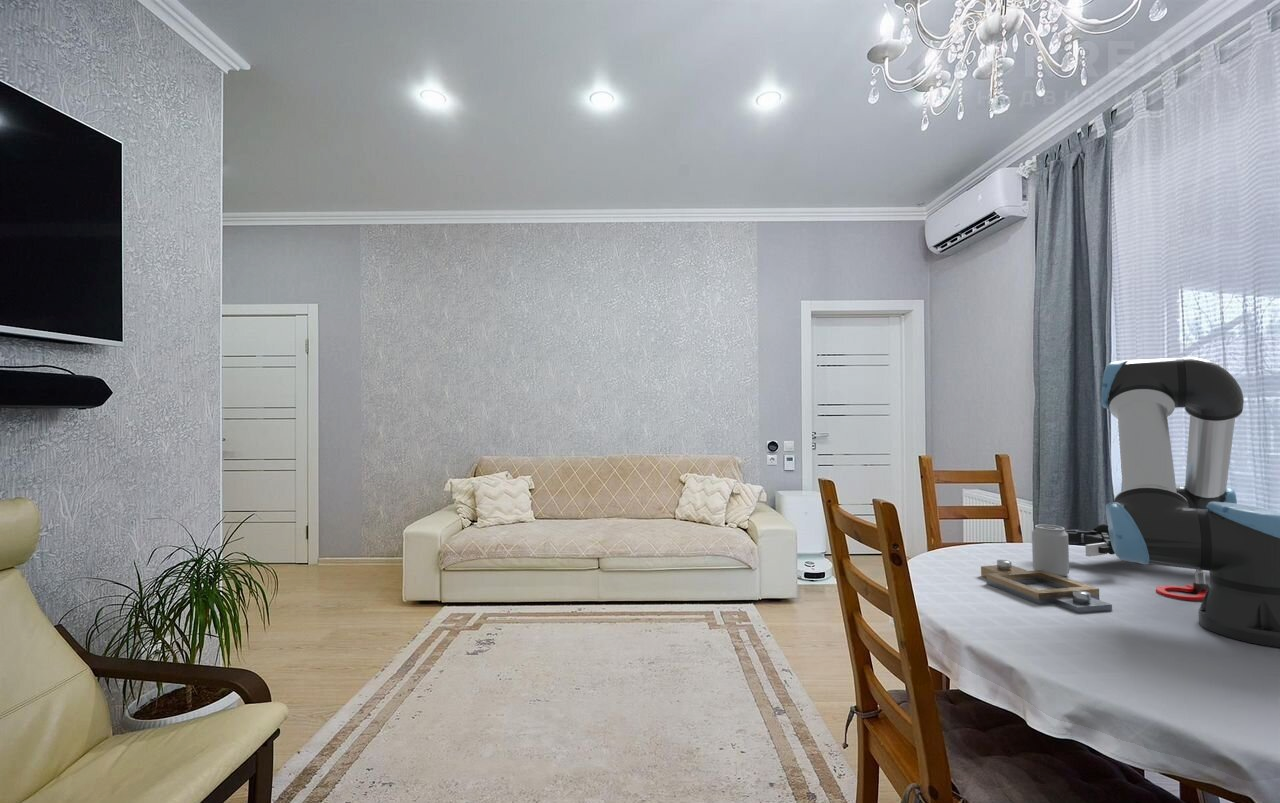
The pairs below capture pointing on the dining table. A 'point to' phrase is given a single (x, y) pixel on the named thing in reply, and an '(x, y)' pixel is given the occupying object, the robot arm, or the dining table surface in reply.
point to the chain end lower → (1076, 603)
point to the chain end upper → (1008, 573)
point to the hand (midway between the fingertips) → (1059, 544)
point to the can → (1050, 549)
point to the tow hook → (1187, 588)
